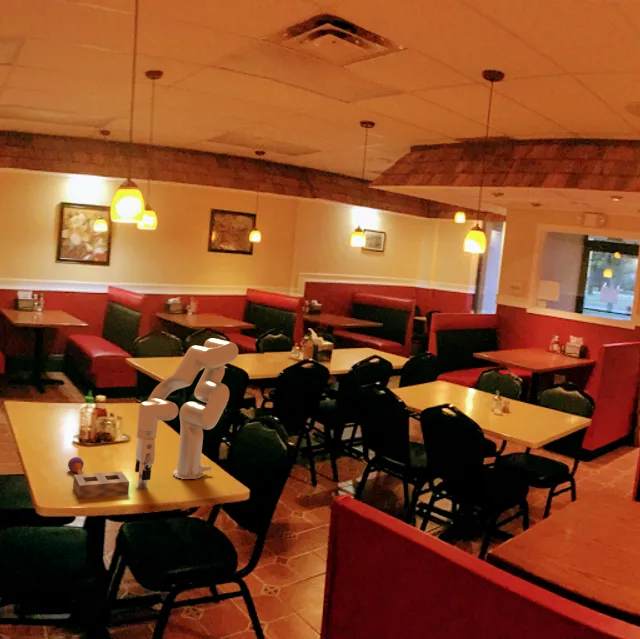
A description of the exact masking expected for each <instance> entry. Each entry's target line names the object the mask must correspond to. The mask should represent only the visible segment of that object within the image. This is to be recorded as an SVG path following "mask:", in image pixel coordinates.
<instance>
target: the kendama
mask: <svg viewBox="0 0 640 639" xmlns="http://www.w3.org/2000/svg"><path fill="white" fill-rule="evenodd" d="M67 467H68V469H69V471H70V472H73V473H77V475H80V474H84V473H83V472H82V469H83V468H84V461H83V459H82V458H81V457H78V456H75V457H72V458H70V459H69V461H68V462H67Z"/></svg>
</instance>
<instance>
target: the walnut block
mask: <svg viewBox="0 0 640 639" xmlns="http://www.w3.org/2000/svg"><path fill="white" fill-rule="evenodd" d="M72 482H73V485H72V489H73V490H74V492H75V495H76V496H77V498H78V499H79V500H81V499H89V498H90V499H91V498H105V497H113V496H114V497H115V496H125V495H129V490H130V481H129V479H128V478H127V477H126V475H125V474H124V473H123V471H121V470H120V471H110V472H96V473H83V474H80V475H78V474H74V475H73V481H72Z"/></svg>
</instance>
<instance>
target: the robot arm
mask: <svg viewBox="0 0 640 639" xmlns="http://www.w3.org/2000/svg"><path fill="white" fill-rule="evenodd" d="M238 356H239V348H238V345H237V344H236V343H234V342H232V341H229V340H223V339H220V338H213V337H212V338H208V339H206V340H205V342H204V344H203V346H202V345H192V346H190V347H189V348H188V349H187V351H186V353H184V356H183V357H182V360H181V361H180V363H179V364H178V366H177V367H176V369H175V371H174V372H173V373H172V374H171V375H170V376H168V377H167V378H165V379H164V380H163V381H161V382H160V383H158V384H157V385H156V386H155V388H154V389H153V391H152V392H151V394H150V395H149V396H148V398H147V400H145V401H142V402H140V403H139V407H138V416H137V427H136V436H135V437H136V438H137V442H136V451H135V457H136V459H135V467H134V468H135V469H134V473H139V466H140V462H141V463H142V464H143V469H144V470H143V471H142V480H147V481H149V480H151V476H152V475H151V474H152V468H153V467H152V465H153V464H154V463H155V455H156V454H155V453H156V450H155V449H156V439H157V431H158V430H157V429H158V421H171V420H174V419H175V418H177V416H178V415H179V421H180V422H179V423H180V432H179V436H180V437H179V447H178V455H177V456H178V457H177V468H176V469H175V470H173V471H172V475H174V476H175V478H176V477H177V478H176V479H178V478H181V479H180V480H183V479H196V478H200V477H202V476H203V477H204V471H205V472H207V471H209V472H210V471H211V470H212V466H211V465H206V464H201V460H202V451H203V450H202V449H203V440H204V431H203V430H207V431H208V430H209V431H210V430H211V429H214V428H215V426H216V425H217V423H218V422H219V420H220V418H221V417H222V415H223V413H224V410H225V408H226V407H227V404H228V401H229V398H230V390H229V387H228V386H227V385H226V384H225V383H222V380H223V378H224V376H225V373H226V372H225V370H226V368H225V365H227V364H230V363H232V362H233V361H235V360H236V359H237V357H238ZM202 368H203V369H204V371H203V373H202V375H201V377H200V378H199V380H198V382H197V384H196V387H195V389H194V392H193V393H194V397H195V398H196V399H197V400H199V401H201V402H203V403H206V404H203V403H200V402H196V401H187V402H185V403H183V405H182V406H181V407H180V409H179V407H178V404H176V403H175V402H172V401H170V400H167V399H166V398H167V397H168V396H169V395H170V394H171V393H173V392H174V391H176V390H180V389H184V388H186V387H187V388H188V387H190V386H191V385H192V384H193V382H194V380H195V379H196V377H197V375H198V374H199V373H200V371H201V369H202ZM145 465H146V466H145ZM174 476H173V477H174ZM203 477H202V478H203ZM200 479H201V478H200ZM196 480H197V479H196Z"/></svg>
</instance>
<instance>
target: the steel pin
mask: <svg viewBox="0 0 640 639" xmlns="http://www.w3.org/2000/svg"><path fill="white" fill-rule="evenodd" d="M145 466H146V465H145ZM143 470H144V469H143V464H142V463H141V462H140V466H139V472H138V478H137V479H138V480H137V482H138V483H137V489H140V490H144V489H147V488H148V480H142V471H143Z"/></svg>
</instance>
